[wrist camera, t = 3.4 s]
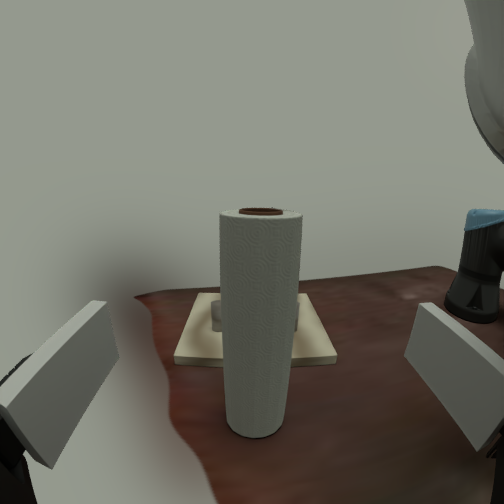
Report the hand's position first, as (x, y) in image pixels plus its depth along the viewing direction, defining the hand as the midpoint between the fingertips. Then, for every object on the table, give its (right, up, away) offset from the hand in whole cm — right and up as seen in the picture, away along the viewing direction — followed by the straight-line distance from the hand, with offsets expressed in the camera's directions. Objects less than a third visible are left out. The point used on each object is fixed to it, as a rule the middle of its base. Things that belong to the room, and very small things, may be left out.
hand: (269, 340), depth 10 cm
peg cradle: (0, -9, +34) cm, 36 cm away
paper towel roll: (0, -14, +15) cm, 21 cm away
